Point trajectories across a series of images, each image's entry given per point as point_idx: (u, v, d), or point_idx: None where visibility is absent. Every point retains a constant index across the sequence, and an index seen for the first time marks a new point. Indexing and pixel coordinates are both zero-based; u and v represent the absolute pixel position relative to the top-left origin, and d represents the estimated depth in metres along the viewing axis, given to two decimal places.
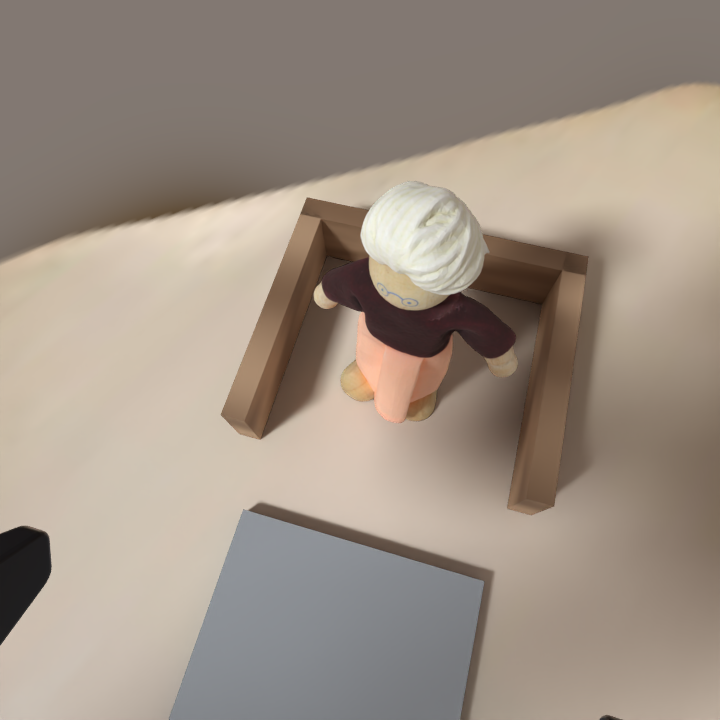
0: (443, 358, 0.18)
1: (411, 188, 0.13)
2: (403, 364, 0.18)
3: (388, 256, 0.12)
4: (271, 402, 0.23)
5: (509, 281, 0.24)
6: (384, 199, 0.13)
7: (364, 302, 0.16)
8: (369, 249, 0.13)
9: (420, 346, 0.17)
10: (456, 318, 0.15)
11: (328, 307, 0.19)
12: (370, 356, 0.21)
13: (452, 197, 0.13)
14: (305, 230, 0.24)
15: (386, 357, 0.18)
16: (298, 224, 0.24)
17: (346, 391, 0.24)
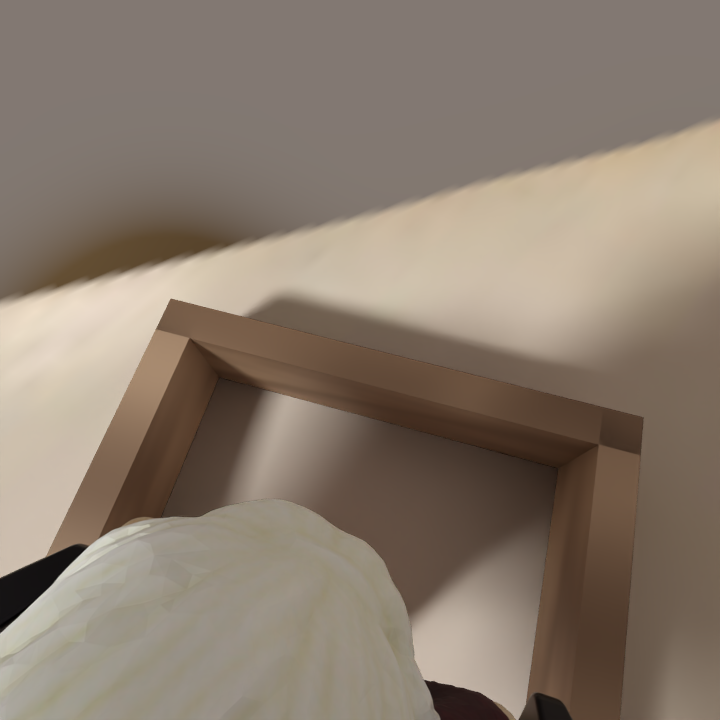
0: None
1: (93, 641, 0.03)
2: None
3: None
4: None
5: (506, 440, 0.15)
6: None
7: None
8: None
9: None
10: None
11: None
12: None
13: (266, 679, 0.03)
14: (160, 359, 0.14)
15: None
16: (150, 348, 0.14)
17: None
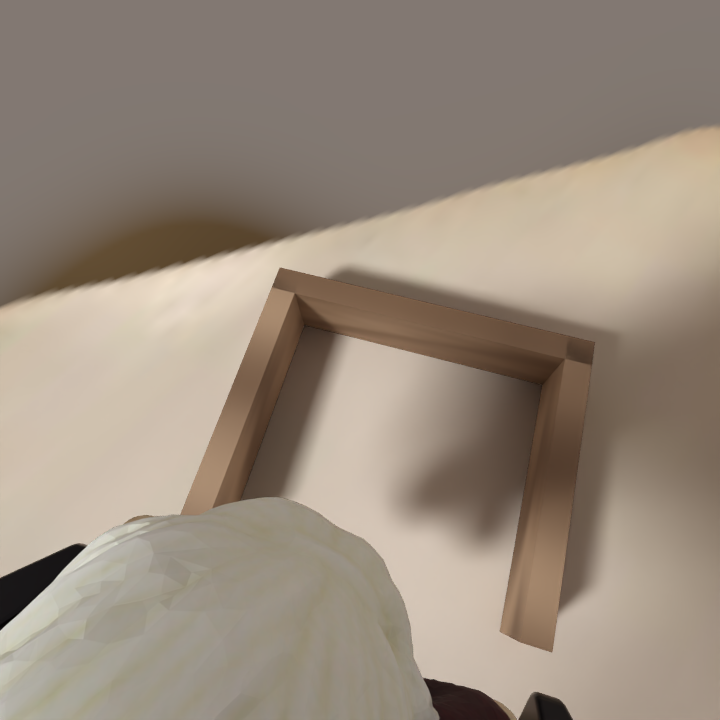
0: None
1: (93, 638, 0.03)
2: None
3: None
4: (237, 500, 0.21)
5: (505, 363, 0.22)
6: None
7: None
8: None
9: None
10: None
11: None
12: None
13: (264, 676, 0.03)
14: (276, 307, 0.21)
15: None
16: (269, 299, 0.21)
17: None
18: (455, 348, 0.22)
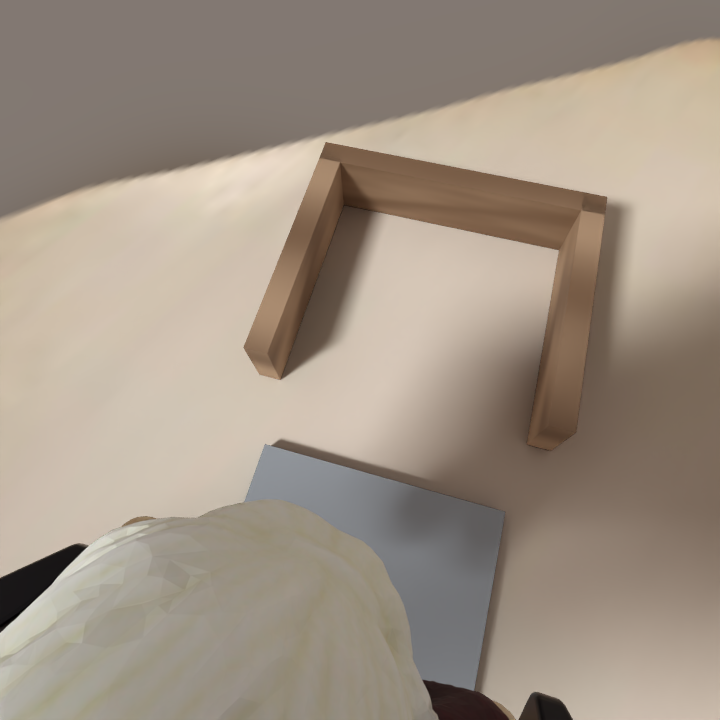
0: None
1: (91, 642, 0.03)
2: None
3: None
4: (290, 343, 0.23)
5: (527, 225, 0.24)
6: None
7: None
8: None
9: None
10: None
11: None
12: None
13: (263, 680, 0.03)
14: (324, 173, 0.24)
15: None
16: (317, 167, 0.24)
17: None
18: (482, 213, 0.24)
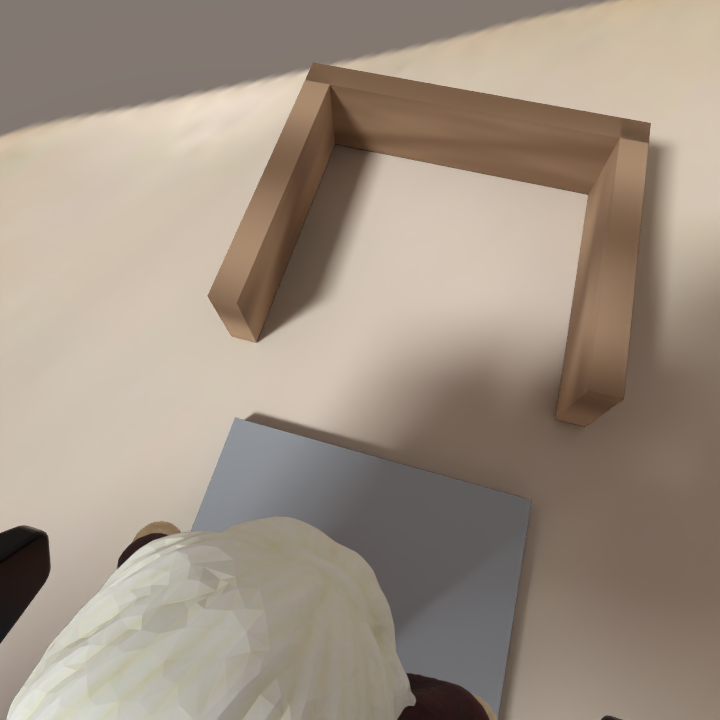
0: None
1: (148, 629, 0.04)
2: None
3: None
4: (269, 299, 0.20)
5: (552, 162, 0.21)
6: (49, 679, 0.04)
7: None
8: None
9: None
10: None
11: None
12: None
13: (277, 660, 0.04)
14: (311, 97, 0.20)
15: None
16: (303, 90, 0.20)
17: None
18: (499, 148, 0.21)
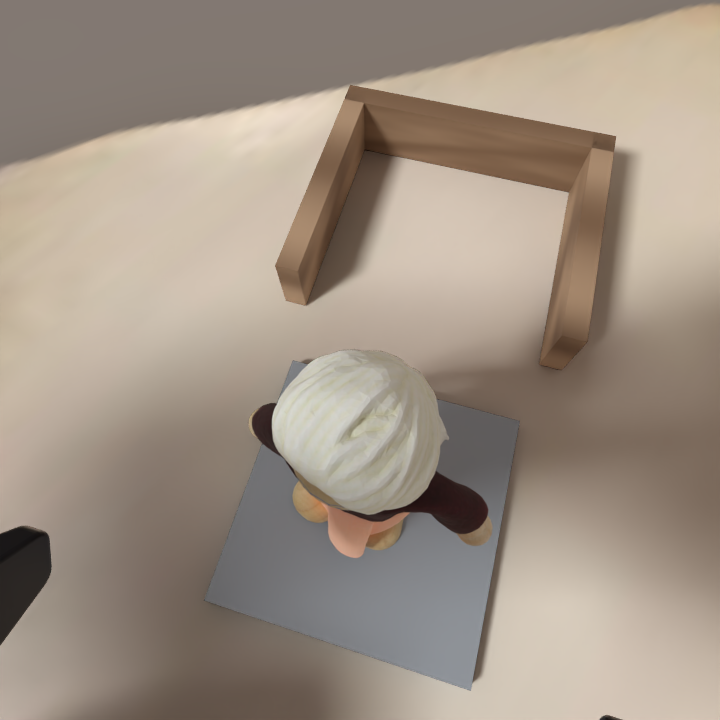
0: (401, 514, 0.15)
1: (338, 371, 0.09)
2: (350, 522, 0.15)
3: (300, 472, 0.09)
4: (316, 272, 0.25)
5: (539, 166, 0.26)
6: (299, 388, 0.09)
7: (294, 469, 0.12)
8: (279, 452, 0.09)
9: (368, 515, 0.13)
10: None
11: None
12: None
13: (394, 385, 0.09)
14: (349, 112, 0.25)
15: (331, 511, 0.15)
16: (343, 107, 0.25)
17: (298, 510, 0.20)
18: (497, 154, 0.26)
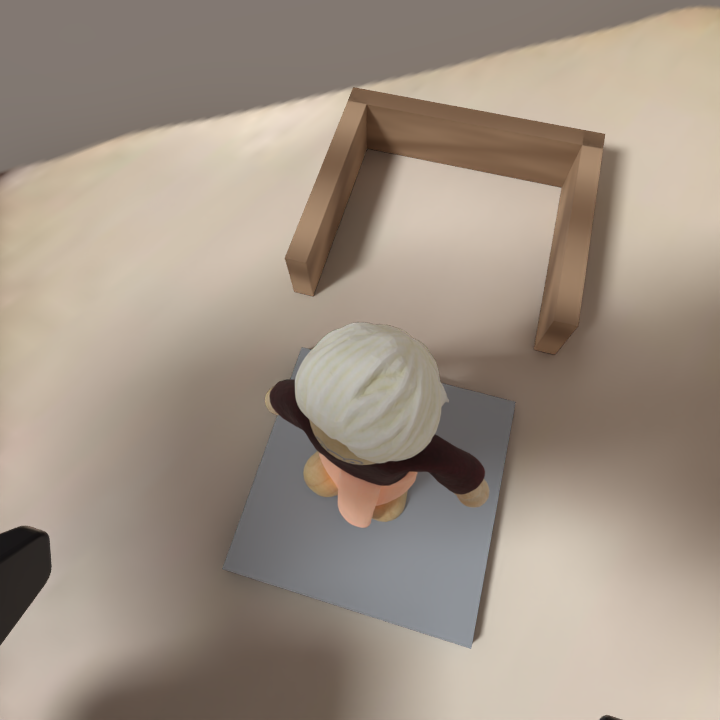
0: (406, 480, 0.16)
1: (352, 339, 0.11)
2: (360, 488, 0.16)
3: (321, 425, 0.10)
4: (322, 264, 0.26)
5: (533, 163, 0.27)
6: (319, 354, 0.11)
7: (310, 435, 0.14)
8: (301, 410, 0.11)
9: (376, 479, 0.15)
10: (413, 461, 0.13)
11: None
12: None
13: (401, 351, 0.11)
14: (353, 113, 0.27)
15: (342, 478, 0.16)
16: (346, 108, 0.27)
17: (308, 485, 0.21)
18: (493, 152, 0.27)
